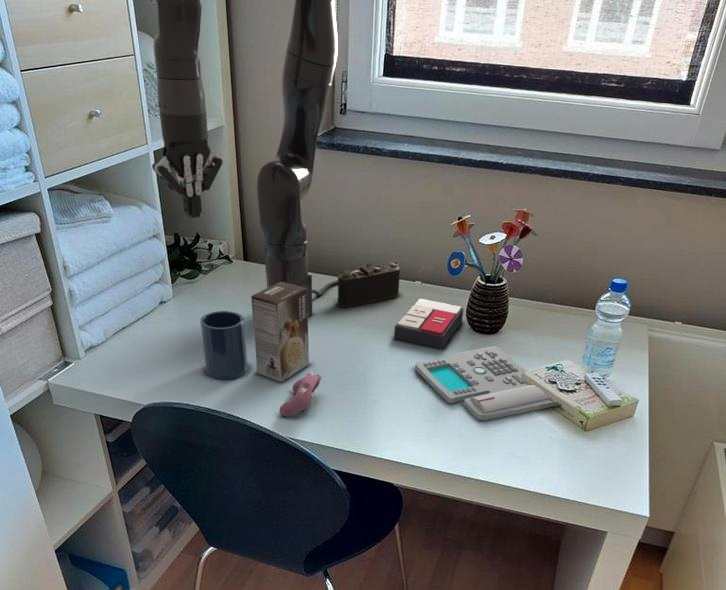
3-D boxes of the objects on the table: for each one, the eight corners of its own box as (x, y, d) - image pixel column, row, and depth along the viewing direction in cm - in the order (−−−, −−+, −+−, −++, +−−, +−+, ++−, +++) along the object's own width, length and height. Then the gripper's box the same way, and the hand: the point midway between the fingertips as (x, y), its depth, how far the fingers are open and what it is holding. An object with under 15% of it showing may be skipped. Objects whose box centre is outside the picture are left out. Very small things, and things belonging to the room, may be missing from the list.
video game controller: (298, 427, 121) (315, 399, 117) (276, 414, 120) (292, 385, 116) (312, 399, 129) (329, 372, 124) (291, 387, 128) (307, 359, 124)
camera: (387, 287, 170) (389, 255, 165) (402, 297, 165) (404, 264, 160) (329, 299, 163) (329, 266, 158) (342, 309, 158) (343, 275, 154)
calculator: (394, 323, 145) (418, 295, 155) (393, 341, 147) (417, 312, 158) (443, 333, 141) (464, 304, 152) (441, 351, 144) (462, 322, 155)
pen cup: (233, 356, 138) (228, 307, 132) (255, 371, 133) (252, 321, 127) (198, 367, 134) (192, 317, 127) (220, 383, 129) (214, 332, 123)
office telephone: (565, 393, 126) (473, 414, 119) (562, 405, 127) (471, 426, 120) (496, 339, 142) (412, 355, 135) (494, 351, 144) (410, 366, 137)
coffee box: (284, 356, 139) (281, 279, 129) (309, 364, 136) (308, 287, 126) (255, 373, 133) (250, 294, 123) (281, 383, 130) (278, 303, 120)
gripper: (157, 115, 106) (171, 228, 117) (229, 109, 113) (236, 216, 124) (134, 107, 110) (149, 217, 121) (205, 101, 118) (214, 205, 128)
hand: (193, 216), depth 122 cm, fingers closed
